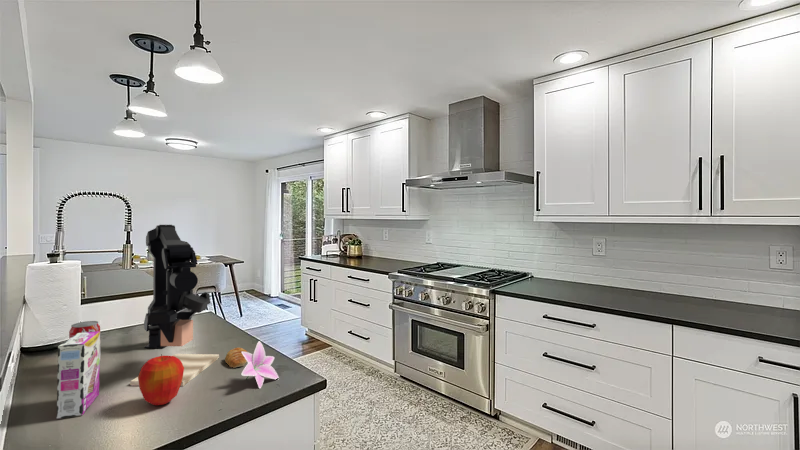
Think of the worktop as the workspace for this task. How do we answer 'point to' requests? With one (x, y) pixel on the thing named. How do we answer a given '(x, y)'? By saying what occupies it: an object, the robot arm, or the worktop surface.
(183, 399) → the worktop surface
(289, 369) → the worktop surface
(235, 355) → the pastry
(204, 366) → the birch board
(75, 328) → the soda can
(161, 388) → the apple
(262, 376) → the lily
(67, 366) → the candy bar box
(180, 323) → the terracotta cube
